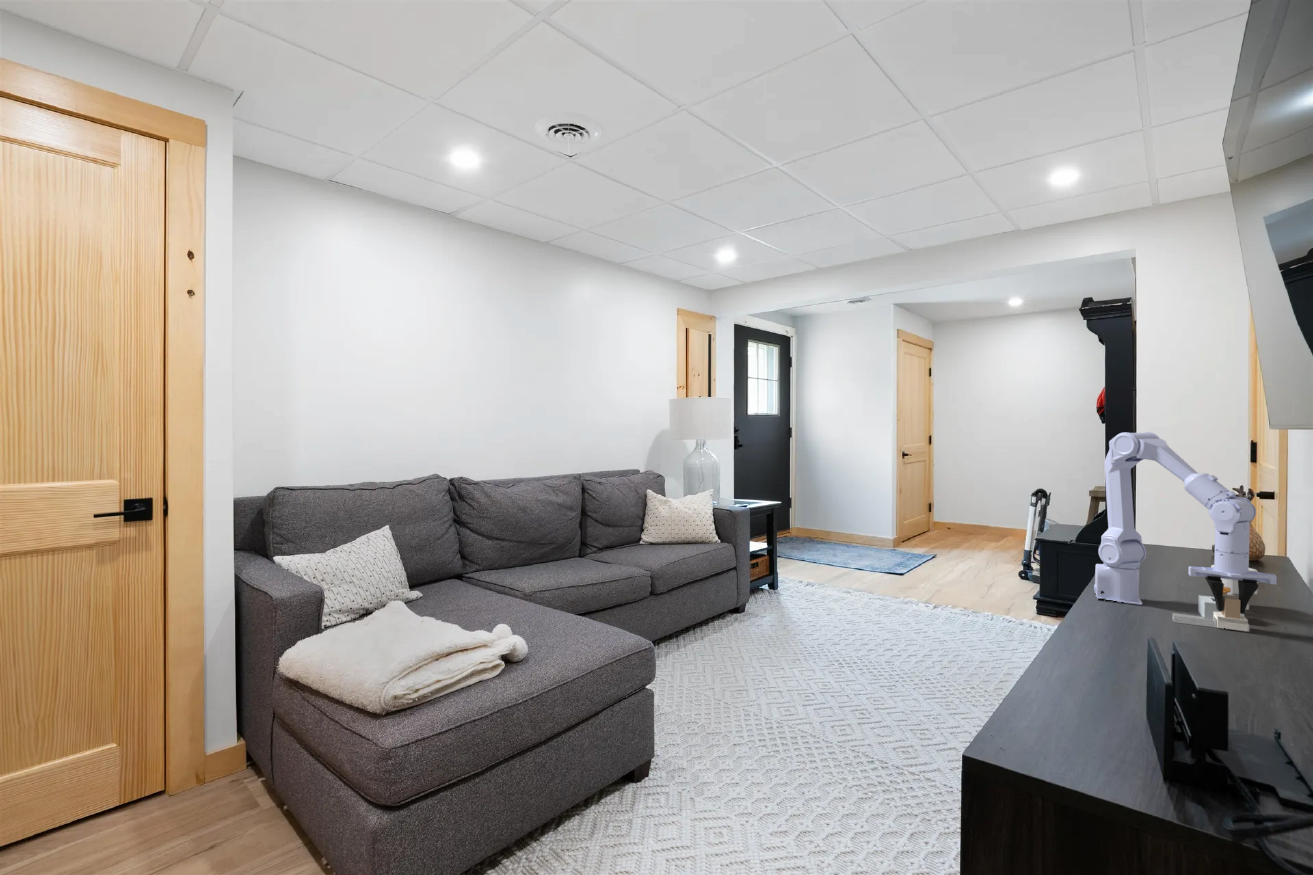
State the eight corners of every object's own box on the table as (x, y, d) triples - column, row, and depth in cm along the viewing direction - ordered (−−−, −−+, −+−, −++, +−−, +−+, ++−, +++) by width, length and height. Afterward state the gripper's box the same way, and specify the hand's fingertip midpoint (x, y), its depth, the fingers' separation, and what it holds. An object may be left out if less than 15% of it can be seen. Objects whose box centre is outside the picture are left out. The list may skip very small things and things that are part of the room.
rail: (1174, 622, 145) (1174, 615, 145) (1172, 619, 147) (1172, 612, 147) (1249, 631, 138) (1249, 625, 138) (1246, 628, 140) (1246, 622, 140)
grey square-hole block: (1204, 618, 148) (1204, 602, 147) (1198, 611, 153) (1198, 594, 153) (1244, 623, 144) (1244, 606, 144) (1236, 615, 150) (1236, 599, 150)
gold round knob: (1212, 606, 148) (1213, 587, 148) (1209, 602, 151) (1209, 584, 151) (1231, 608, 146) (1232, 589, 146) (1228, 604, 149) (1228, 586, 149)
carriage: (1217, 627, 140) (1218, 597, 140) (1213, 622, 144) (1213, 593, 144) (1247, 631, 138) (1248, 601, 138) (1242, 625, 142) (1242, 596, 141)
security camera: (1257, 610, 154) (1258, 570, 154) (1228, 610, 154) (1229, 570, 154) (1234, 602, 160) (1235, 564, 160) (1206, 602, 161) (1207, 564, 160)
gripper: (1193, 551, 141) (1192, 610, 141) (1281, 558, 133) (1280, 621, 134) (1187, 545, 147) (1186, 603, 147) (1271, 552, 139) (1270, 612, 140)
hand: (1230, 611), depth 141 cm, fingers open, 3 cm apart
